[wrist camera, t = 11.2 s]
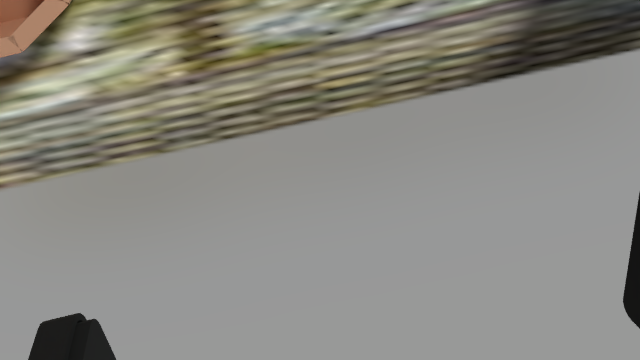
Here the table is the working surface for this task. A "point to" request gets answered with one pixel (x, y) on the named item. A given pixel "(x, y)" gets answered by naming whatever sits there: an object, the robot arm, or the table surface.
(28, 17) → the bowl
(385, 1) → the table surface
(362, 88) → the table surface
